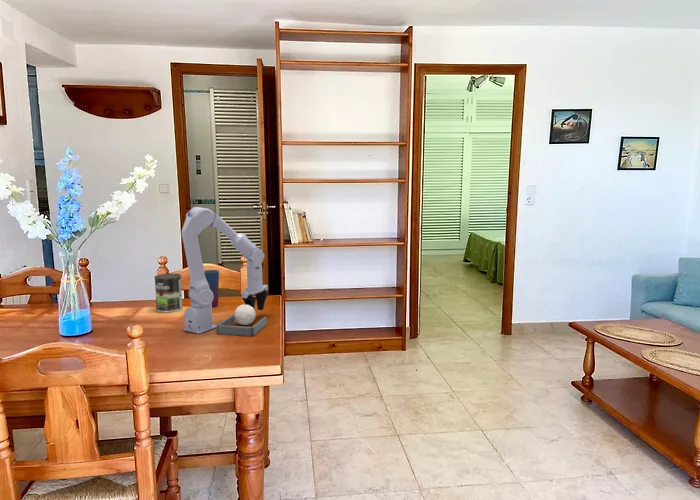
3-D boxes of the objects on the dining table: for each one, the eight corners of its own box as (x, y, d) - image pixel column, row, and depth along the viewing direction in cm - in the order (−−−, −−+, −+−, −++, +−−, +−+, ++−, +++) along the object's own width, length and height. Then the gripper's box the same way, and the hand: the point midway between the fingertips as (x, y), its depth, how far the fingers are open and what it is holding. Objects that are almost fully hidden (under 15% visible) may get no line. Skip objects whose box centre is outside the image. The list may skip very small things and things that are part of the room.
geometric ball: (246, 329, 191) (254, 310, 194) (254, 327, 184) (261, 307, 187) (228, 322, 188) (236, 302, 191) (235, 319, 181) (242, 299, 185)
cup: (217, 307, 211) (216, 272, 208) (201, 307, 211) (200, 272, 208) (222, 303, 217) (220, 269, 215) (206, 303, 217) (205, 269, 215)
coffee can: (172, 313, 202) (170, 279, 200) (151, 311, 205) (148, 277, 203) (187, 307, 212) (186, 274, 210) (167, 305, 215) (165, 272, 213)
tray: (253, 336, 175) (252, 327, 175) (216, 333, 178) (216, 325, 177) (266, 324, 188) (266, 316, 188) (232, 322, 191) (232, 314, 190)
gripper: (257, 273, 201) (258, 306, 203) (234, 280, 188) (235, 315, 190) (271, 274, 198) (272, 308, 200) (250, 282, 185) (251, 317, 187)
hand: (255, 311), depth 195 cm, fingers open, 6 cm apart
